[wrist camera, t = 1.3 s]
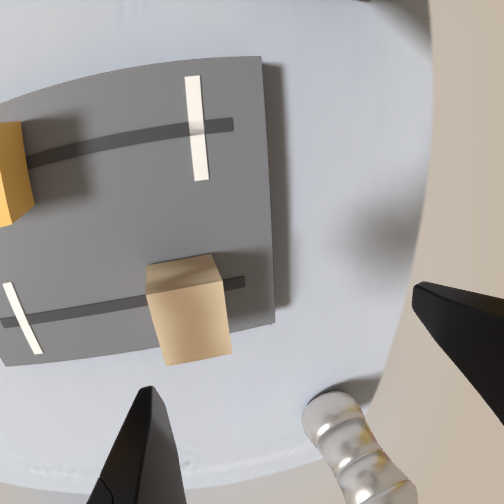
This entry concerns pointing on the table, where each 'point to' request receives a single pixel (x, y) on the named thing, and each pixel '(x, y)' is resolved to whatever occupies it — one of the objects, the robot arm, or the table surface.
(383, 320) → the table surface
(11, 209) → the block
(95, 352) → the fader panel
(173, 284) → the oak fader
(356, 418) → the plastic bottle
